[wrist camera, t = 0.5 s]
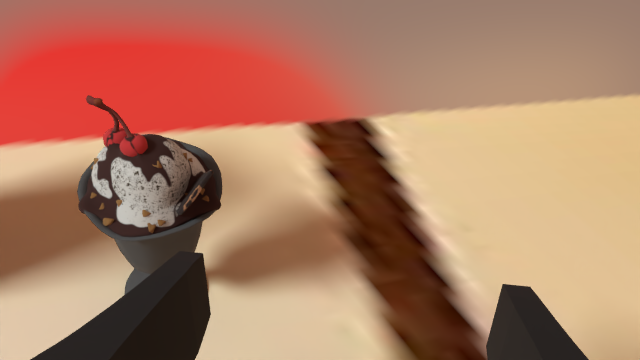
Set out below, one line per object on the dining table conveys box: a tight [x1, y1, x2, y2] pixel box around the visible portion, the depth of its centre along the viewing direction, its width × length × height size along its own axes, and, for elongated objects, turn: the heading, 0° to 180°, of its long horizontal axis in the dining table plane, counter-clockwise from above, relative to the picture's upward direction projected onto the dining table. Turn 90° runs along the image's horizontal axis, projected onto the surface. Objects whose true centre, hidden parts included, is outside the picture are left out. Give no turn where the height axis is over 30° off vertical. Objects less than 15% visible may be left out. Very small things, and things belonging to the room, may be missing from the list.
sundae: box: [77, 96, 222, 294], centre depth 26 cm, size 7×7×15 cm
